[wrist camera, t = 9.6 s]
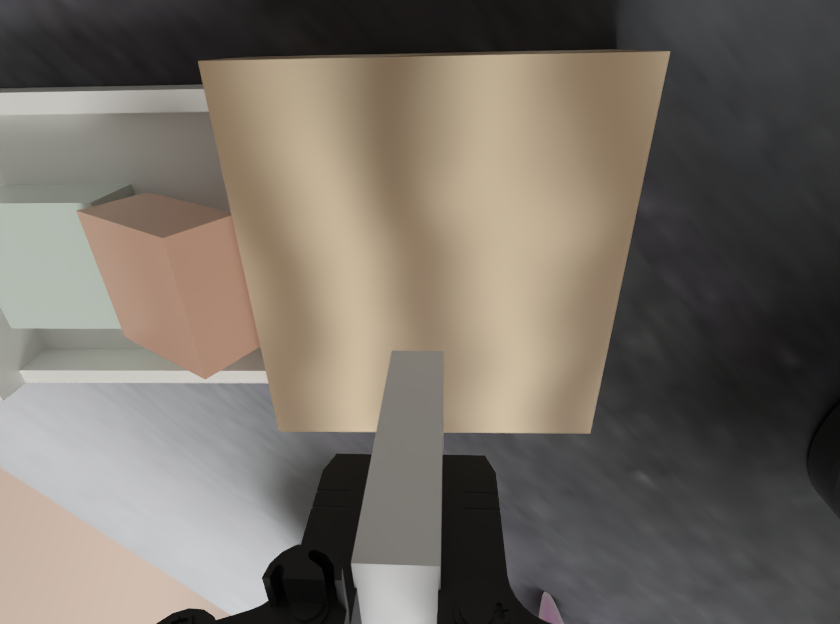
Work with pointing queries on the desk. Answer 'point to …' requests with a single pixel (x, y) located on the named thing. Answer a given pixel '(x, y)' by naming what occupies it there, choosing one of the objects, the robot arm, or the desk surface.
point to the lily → (549, 610)
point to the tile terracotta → (174, 279)
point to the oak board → (435, 224)
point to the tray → (108, 164)
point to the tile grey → (52, 257)
